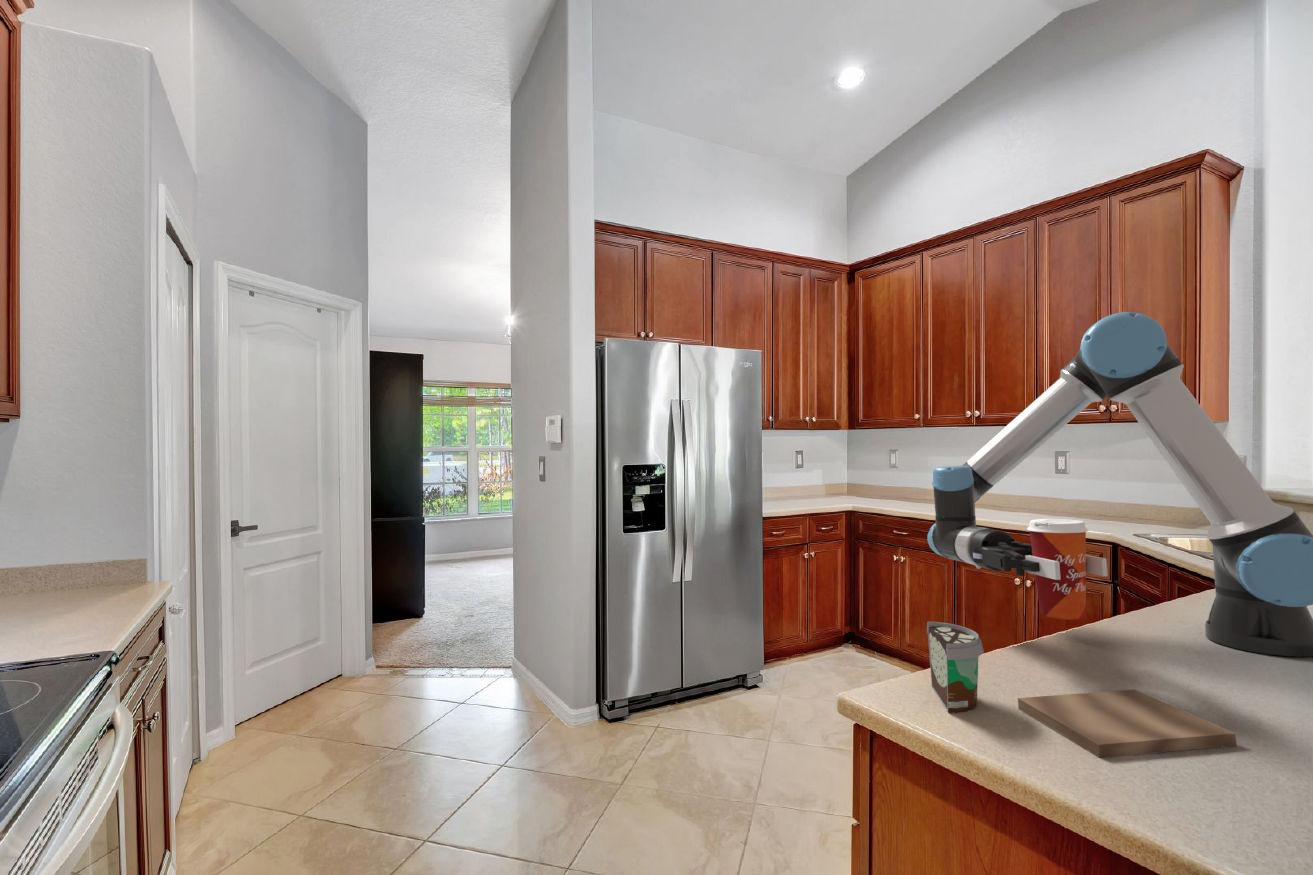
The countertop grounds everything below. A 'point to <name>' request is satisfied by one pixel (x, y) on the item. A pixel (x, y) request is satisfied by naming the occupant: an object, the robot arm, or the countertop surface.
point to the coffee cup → (1061, 566)
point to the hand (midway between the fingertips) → (1081, 569)
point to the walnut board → (1124, 723)
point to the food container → (954, 665)
